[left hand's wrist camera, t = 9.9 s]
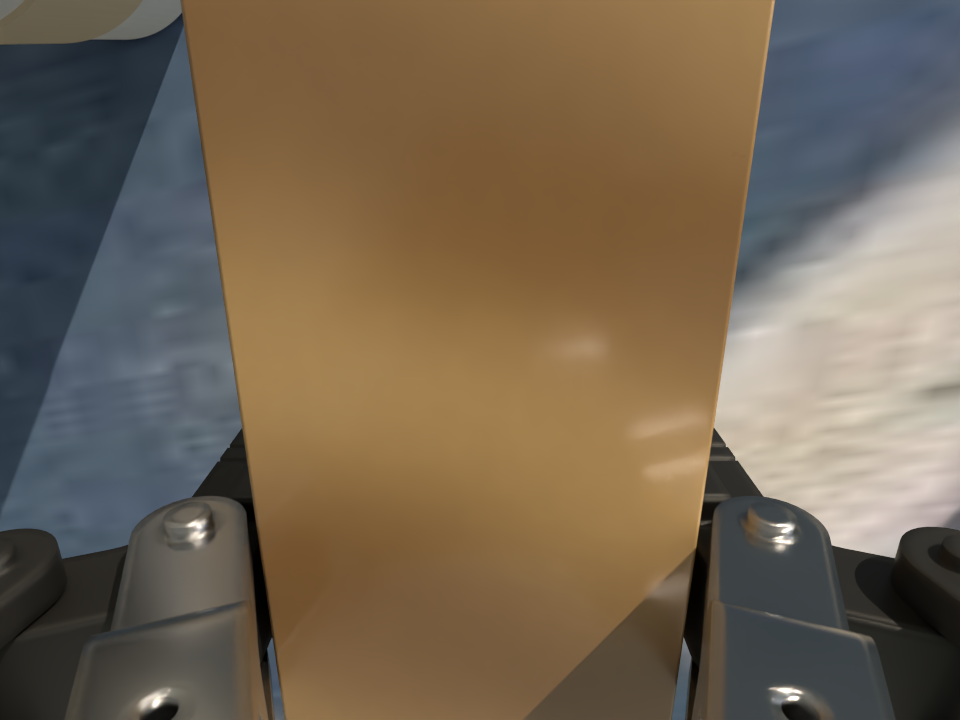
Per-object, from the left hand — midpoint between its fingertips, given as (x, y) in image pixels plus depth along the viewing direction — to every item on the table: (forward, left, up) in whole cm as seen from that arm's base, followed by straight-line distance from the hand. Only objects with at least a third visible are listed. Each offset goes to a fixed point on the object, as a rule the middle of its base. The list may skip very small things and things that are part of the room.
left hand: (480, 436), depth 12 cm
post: (-15, +11, -2) cm, 19 cm away
